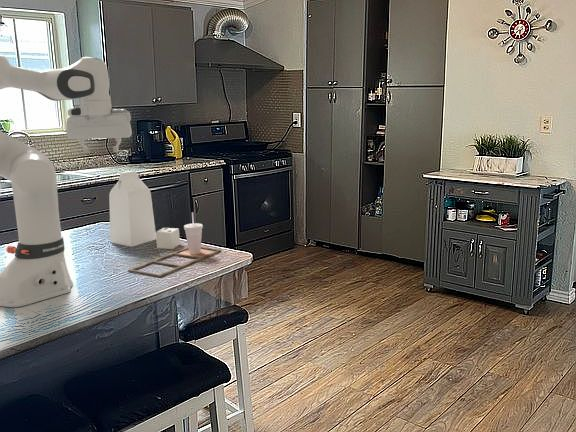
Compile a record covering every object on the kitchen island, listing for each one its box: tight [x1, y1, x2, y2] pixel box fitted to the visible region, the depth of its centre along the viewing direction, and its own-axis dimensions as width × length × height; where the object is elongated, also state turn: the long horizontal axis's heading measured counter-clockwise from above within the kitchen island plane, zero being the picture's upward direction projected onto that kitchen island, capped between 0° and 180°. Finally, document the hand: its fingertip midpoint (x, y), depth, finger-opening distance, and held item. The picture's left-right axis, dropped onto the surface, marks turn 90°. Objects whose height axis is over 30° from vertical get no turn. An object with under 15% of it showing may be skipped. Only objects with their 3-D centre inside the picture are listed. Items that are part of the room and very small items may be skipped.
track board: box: [127, 246, 222, 279], centre depth 188 cm, size 31×13×1 cm, turn 150°
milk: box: [108, 170, 157, 248], centre depth 212 cm, size 12×12×26 cm
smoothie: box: [183, 211, 204, 255], centre depth 195 cm, size 6×6×14 cm
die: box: [155, 227, 181, 250], centre depth 206 cm, size 6×6×6 cm
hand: (101, 152), depth 188 cm, fingers open, 8 cm apart
